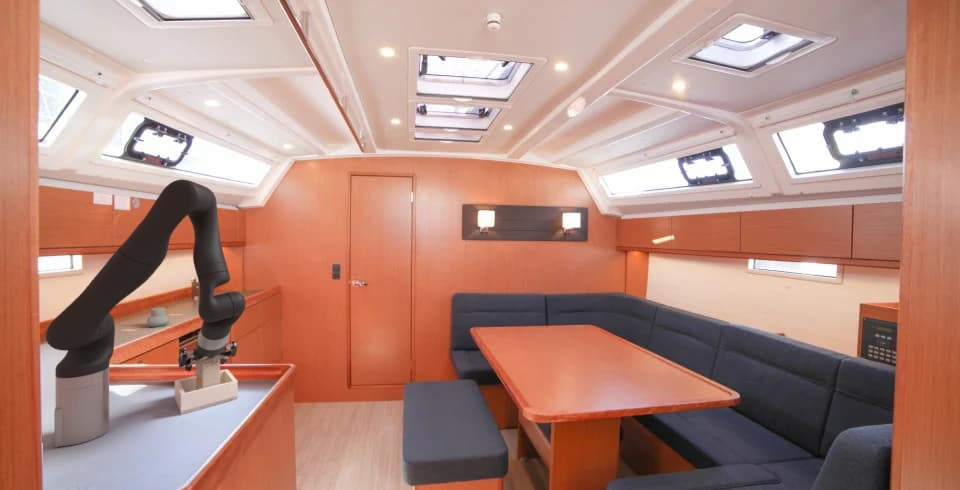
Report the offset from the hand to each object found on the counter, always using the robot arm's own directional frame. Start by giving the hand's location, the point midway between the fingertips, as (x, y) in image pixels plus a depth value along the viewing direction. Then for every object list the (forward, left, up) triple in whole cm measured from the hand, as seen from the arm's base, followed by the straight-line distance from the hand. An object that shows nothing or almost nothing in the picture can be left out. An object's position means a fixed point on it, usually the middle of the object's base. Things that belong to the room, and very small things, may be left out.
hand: (205, 365), depth 112 cm
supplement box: (+1, -1, -10) cm, 10 cm away
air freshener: (-2, +124, -11) cm, 124 cm away
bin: (0, -1, -11) cm, 11 cm away
